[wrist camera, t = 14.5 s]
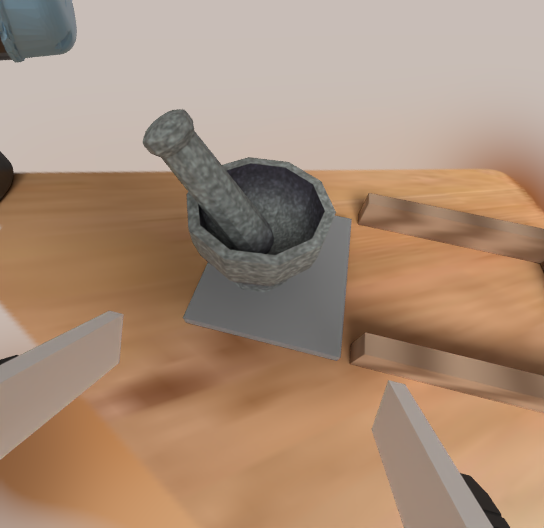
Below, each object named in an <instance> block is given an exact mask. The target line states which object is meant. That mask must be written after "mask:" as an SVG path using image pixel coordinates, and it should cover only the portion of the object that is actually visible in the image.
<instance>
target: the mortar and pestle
mask: <svg viewBox="0 0 544 528" xmlns="http://www.w3.org/2000/svg"><path fill="white" fill-rule="evenodd" d="M143 144H144V146H145V147H146V148H147V150H148V151H149V152H150V153H151V154H154V155H156V156H159V157H161V158H162V159H163V160H164V162H165V163H166V164H167V165H168V167H169V168H170V169H171V170H172V172H173V173H174V174H175V175H176V177H177V178H178V179H179V180H180V182H181V183H182V184H183V185H184V187H185V188H186V189H187V190H188V193H187V211H188V228H189V232H190V236H191V239H192V242H193V244H194V246H195V247H196V249H197V250H198V252H199V254H200V255H201V256H202V257H203V258H204V259H205V260H207V261H208V262H209V263H210V264H211V265H212V266H213V267H215V268H216V269H217V270H218V271H219V272H220V273H221V274H223V275H224V276H225V277H226V278H227V279H228V280H229V281H233V282H234V283H235V284H236V285H238V286H239V287H240V288H241V289H242V290H249V291H257V292H268V291H270V290H272V289H274V288H276V287H278V286H280V285H282V284H284V283H286V282H287V279H289V278H291V277H293V276H295V275H297V274H299V273H301V272H303V271H305V270H307V269H309V268H310V267H311V266H312V264H313V263H314V262H315V260H316V259H317V257H318V255H319V252H320V250H321V248H322V245H323V243H324V240H325V238H326V236H327V233H328V231H329V228H330V226H331V223H332V221H333V218H334V216H335V213H336V211H335V209H334V207H333V205H332V203H331V201H330V199H329V197H328V195H327V193H326V190H325V188H324V186H323V184H322V182H321V181H320V180H318V179H316V178H315V177H313V176H311V175H309V174H308V173H306V172H304V171H303V170H301V169H299V168H297V167H296V166H294V165H293V164H291V163H289V162H283V161H275V160H267V159H258V158H249V157H248V158H245V159H241V160H238V161H234V162H231V163H228V164H224V165H221V164H220V162H219V161H218V160H217V159H216V157H215V156H214V155H213V154H212V152H211V151H210V150H209V149H208V147H207V146H206V145H205V144H204V142H203V141H202V140H201V139H200V138H199V136H198V135H197V134H196V132H195V131H194V126H193V120H192V119H191V118H190V116H189V115H188V113H187V112H186V111H185V110H172V111H169V112H167V113H165V114H164V115H162V116H160V117H159V118H158V119H157V120H155V121H154V122H153V123H152V124H151V126H150V127H149V128H148V129H147V131H146V133H145V136H144V139H143Z"/></svg>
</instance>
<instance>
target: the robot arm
mask: <svg viewBox="0 0 544 528" xmlns="http://www.w3.org/2000/svg"><path fill="white" fill-rule="evenodd" d="M76 33H77V30H76V20H75V14H74V8H73V4H72V0H0V60H13V61H14V62H22V61H24V59H25V58H30V57H39V56H49V55H58V54H64V53H66V52H68V51H69V50H70V49H71V48H72V47H73V45H74V43H75V41H76ZM12 179H13V167H12V165H11V163H10V162H9V160H8V159H7V158H6V157H5V156H4V155H3V154H2V153H1V152H0V199H1V198H2V197H3V196H4V194H5V193H6V192H7V190H8V189H9V187H10V185H11V183H12ZM123 315H124V314H120V313H116V312H112V311H108V312H106V313H104V314H102V315H100V316H98V317H96V318H94V319H92V320H90V321H88V322H86V323H84V324H82V325H80V326H78V327H76V328H74V329H72V330H70V331H68V332H66V333H64V334H61V335H59V336H57V337H55V338H53V339H51V340H49V341H47V342H45V343H43V344H41V345H39V346H37V347H35V348H33V349H31V350H29V351H27V352H25V353H23V354H21V355H15V356H12V357H8V358H5V359H1V360H0V459H2V458H3V457H4V456H5V455H7V454H8V453H9V452H10V451H11V450H13V449H14V448H15V447H16V446H18V445H19V444H20V443H21V442H23V441H24V440H25V439H26V438H27V437H29V436H30V435H31V434H32V433H34V432H35V431H36V430H37V429H39V428H40V427H41V426H42V425H43V424H45V423H46V422H47V421H48V420H50V419H51V418H52V417H53V416H55V415H56V414H57V413H58V412H59V411H61V410H62V409H63V408H64V407H66V406H67V405H68V404H69V403H71V402H72V401H73V400H74V399H75V398H77V397H78V396H79V395H80V394H82V393H83V392H84V391H85V390H87V389H88V388H89V387H90V386H91V385H93V384H94V383H95V382H96V381H98V380H99V379H100V378H101V377H103V376H104V375H105V374H106V373H107V372H109V371H110V370H111V369H112V368H114V367H115V366H116V365H117V364H118V363H119V360H120V349H121V337H122V326H123ZM372 432H373V435H374V438H375V441H376V444H377V447H378V450H379V453H380V456H381V459H382V462H383V465H384V468H385V471H386V474H387V477H388V480H389V483H390V486H391V489H392V493H393V496H394V499H395V502H396V505H397V508H398V511H399V514H400V517H401V520H402V523H403V526H404V528H510V526H509V525H508V523H507V522H506V521H505V519H504V518H502V517H501V513H500V512H499V510H498V509H497V507H496V506H495V504H494V503H493V501H492V500H491V498H490V497H489V495H488V494H487V493H486V492H485V491H484V490H483V489H482V488H481V487H480V485H479V484H478V483H477V482H476V481H475V480H474V479H473V478H472V477H471V476H469V475H465V474H461V473H459V471H458V469H457V468H456V466H455V465H454V463H453V461H452V460H451V458H450V456H449V455H448V453H447V452H446V450H445V448H444V447H443V445H442V443H441V442H440V440H439V439H438V437H437V435H436V434H435V432H434V430H433V429H432V427H431V426H430V424H429V422H428V421H427V419H426V418H425V416H424V414H423V413H422V411H421V409H420V408H419V406H418V405H417V403H416V401H415V400H414V398H413V396H412V395H411V393H410V392H409V390H408V388H407V387H406V385H405V384H401V383H397V382H393V381H389V380H388V383H387V386H386V389H385V392H384V395H383V397H382V400H381V403H380V406H379V409H378V412H377V415H376V418H375V421H374V424H373V427H372Z"/></svg>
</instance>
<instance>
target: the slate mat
mask: <svg viewBox="0 0 544 528" xmlns="http://www.w3.org/2000/svg"><path fill="white" fill-rule="evenodd" d="M350 231H351V219H349V218H344V217H339V216H334V218H333V221H332V223H331V226H330V228H329V231H328V233H327V236H326V238H325V240H324V243H323V245H322V248H321V250H320V252H319V255H318V257H317V259H316V260H315V262H314V263H313V264H312V266H311V267H310V268H309V269H307V270H305V271H303V272H301V273H299V274H297V275H295V276H293V277H291V278H289V279H287V282H286V283H284V284H282V285H280V286H278V287H276V288H274V289H272V290H270V291H268V292H257V291H249V290H242V289H241V288H240V287H239V286H238V285H236V284H235V283H234V282H233V281H229V280H228V279H227V278H226V277H225V276H224V275H223V274H221V273H220V272H219V271H218V270H217V269H216V268H215V267H213V266H212V265H211V264H210V263H209V262H208V263H207V265H206V268H205V270H204V272H203V274H202V277H201V279H200V281H199V283H198V285H197V288H196V290H195V292H194V294H193V297H192V299H191V301H190V303H189V305H188V308H187V310H186V312H185V314H184V317H183V319H184V320H185V322H186V323H190V324H194V325H198V326H202V327H206V328H210V329H214V330H218V331H222V332H226V333H229V334H233V335H237V336H241V337H245V338H249V339H253V340H257V341H261V342H265V343H269V344H273V345H277V346H281V347H285V348H289V349H293V350H297V351H300V352H304V353H308V354H312V355H316V356H320V357H324V358H328V359H332V360H336V361H337V360H338V359H339V358H341V345H342V333H343V320H344V307H345V295H346V282H347V269H348V257H349V244H350Z"/></svg>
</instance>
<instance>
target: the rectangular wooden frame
mask: <svg viewBox="0 0 544 528" xmlns="http://www.w3.org/2000/svg"><path fill="white" fill-rule="evenodd" d="M358 224H359V225H364V226H369V227H373V228H378V229H383V230H387V231H392V232H396V233H401V234H406V235H410V236H415V237H420V238H424V239H429V240H434V241H438V242H443V243H448V244H452V245H457V246H462V247H466V248H471V249H476V250H480V251H485V252H490V253H494V254H499V255H504V256H508V257H513V258H518V259H522V260H527V261H532V262H536V263H540V264H541V266H542V269H543V271H544V229H542V228H537V227H532V226H527V225H523V224H518V223H513V222H508V221H503V220H498V219H493V218H488V217H484V216H479V215H474V214H469V213H464V212H459V211H454V210H450V209H445V208H440V207H435V206H430V205H425V204H420V203H416V202H411V201H406V200H401V199H396V198H391V197H386V196H381V195H377V194H372V193H369V194H368V196H367V198H366V200H365V202H364V204H363V206H362V208H361V210H360V212H359V216H358ZM350 364H352V365H356V366H360V367H364V368H368V369H371V370H375V371H379V372H383V373H387V374H391V375H395V376H399V377H403V378H407V379H411V380H415V381H419V382H423V383H427V384H431V385H435V386H439V387H442V388H446V389H450V390H454V391H458V392H462V393H466V394H470V395H474V396H478V397H482V398H486V399H490V400H494V401H498V402H502V403H506V404H510V405H513V406H517V407H521V408H525V409H529V410H533V411H537V412H541V413H544V376H542V375H538V374H534V373H530V372H526V371H522V370H518V369H514V368H510V367H506V366H501V365H497V364H493V363H489V362H485V361H481V360H477V359H473V358H469V357H465V356H460V355H456V354H452V353H448V352H444V351H440V350H436V349H432V348H428V347H424V346H419V345H415V344H411V343H407V342H403V341H399V340H395V339H391V338H387V337H383V336H378V335H374V334H370V333H366V332H365V333H364V334H363V335H361V336H360V337H359V338H358V339H357V340H356V341H354V342H353V343H352V344H351V352H350Z"/></svg>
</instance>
